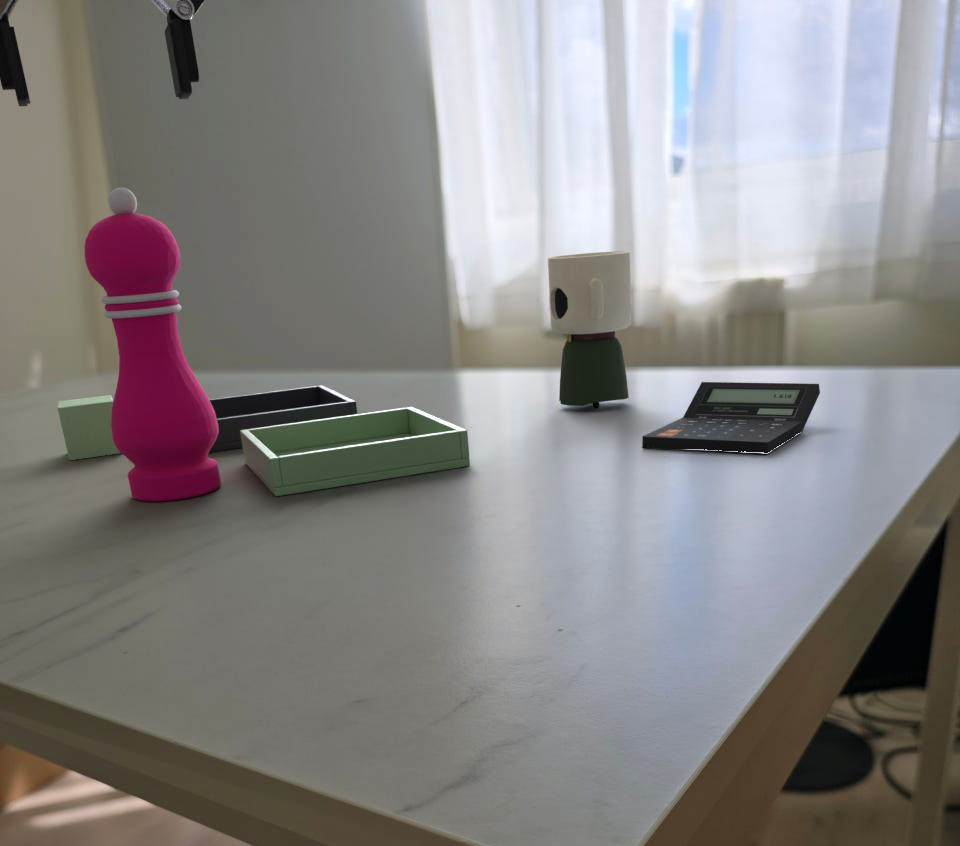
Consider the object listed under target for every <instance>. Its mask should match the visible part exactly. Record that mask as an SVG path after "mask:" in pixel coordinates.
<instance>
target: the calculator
mask: <svg viewBox="0 0 960 846" xmlns="http://www.w3.org/2000/svg"><path fill="white" fill-rule="evenodd" d="M820 389H821V388H820V383H798V382H797V383H793V382H791V383H790V382H789V383H788V382H786V383H785V382H734V381H733V382H728V381H727V382H726V381H725V382H724V381H723V382H722V381H721V382H719V381H718V382H717V381H701V383H700V384H699V386H698V388H697V390H696V392H695V394H694V396H693V398H692V399H691V402H690V403H689V405H688V407H687V409H686V411H685V413H684V414H683V416H682V417H681V418H679V419H677V420H675V421H672V422H670V423H668V424H666V425H664V426H661V427H660V428H658V429H655V430H653V431H651V432H649V433H646V434H644V435H642V437H641V440H642V441H641V442H642V443H641V445H642V449H650V448H657V449H656V450H669V449H704V450H705V449H707V450H718V451H719V450H722V451H738V452H741V451H742V452H744V451H746V452H764V453H768V452H770V451H771V450H773V449H774V448H776V447H777V446H779V445H781V444H782V443H784V442H786V441H787V440H789V439H791V438H792V437H794V436H795V435H796V434H798V433H800V432H801V431H802V432H803V431H804V429H805V427H806V424H807V423H808V421H809V418H810V416H811V414H812V411H813V409H814V407H815V405H816V403H817V400H818V398H819V396H820V394H821V390H820ZM658 448H660V449H658Z"/></svg>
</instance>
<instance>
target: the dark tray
mask: <svg viewBox="0 0 960 846" xmlns="http://www.w3.org/2000/svg"><path fill="white" fill-rule="evenodd" d="M209 400H210V402H211V404H212V406H213V409H214V411H215V414H216V418H217V422H218V426H219V433H218V437H217V439H216V441H215V443H214V444H213V446H212V448H211V449H210V451H209V453H213V452H220V451H229V450H234V449H241V448H242V449H243V446H242V440H241V434H240V430H246V429H247V430H248V429H253V428H261V427H268V426H275V425H282V424H290V423H297V422H304V421H312V420H319V419H326V418H334V417H341V416H348V415H356V414H358V407H357V401H355V400H353V399H352V398H350V397H348V396H346V395H344V394H342V393H339V392H337V391H336V390H333V389H332V388H329V387H327V386H325V385H322V384H321V385H313V386H304V387H296V388H288V389H281V390H274V391H265V392H258V393H250V394H240V395H233V396H226V397H218V398H209Z"/></svg>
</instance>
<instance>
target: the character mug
mask: <svg viewBox="0 0 960 846" xmlns="http://www.w3.org/2000/svg"><path fill="white" fill-rule="evenodd" d="M547 271H548V274H547V275H548V293H549V296H548V299H549V300H548V301H549V315H550V327H551V331H552V332H554V333H556V334H559V335H560V334H561V335H565V342H564V346H563V348H562V353H561V354H562V355H561V362H560V363H561V365H560V373H559V374H560V375H559V397H558V398H559V399H558V402H560V405H564V406H568V407H577V406H578V407H583V406H588V405H591V408H592V409H594V410H598V409H599V408H600V403H603V402H612V401H622V400H627V399H630V397H629V395H630V394H629V388H628V387H629V385H628V377H627V371H626V364H625V359H624V358H625V357H624V351H623V345H622V343H621V341H620V340H619V338H618V337H617V336H616V332H619V331H622V330H626V329H627V328H630V326H631V325H632V290H631V289H632V288H631V287H632V284H631V283H632V282H631V251H628V250H616V251H615V250H614V251H599V252H586V253H585V252H584V253H576V254H567V255H566V254H565V255H557V256H550V257H548V258H547Z"/></svg>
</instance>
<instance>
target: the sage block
mask: <svg viewBox="0 0 960 846" xmlns="http://www.w3.org/2000/svg"><path fill="white" fill-rule="evenodd" d="M113 401H114V399H113V397H112V395H111V394H107V395H99V396H93V397H91V396H90V397H83V398H82V397H81V398H76V399H75V398H74V399H67V400H59V401H57V412H58V416H59V420H60V426H61V430H62V434H63V438H64V442H65V448H66V451H67V457H68V460H69V461H70V460H71V461H77V460H76V459H78V460H83V459H84V458H85V459H90V458H91V459H92V458H99V456H100V457H106V456H105V455H107V456H113V455H112V454H114V455H119V454H121V455H122V453H121V452H120V451H119V450H118V449H117V448H116V446H115V445H114V442H113V437H112V429H111V414H112V406H113Z"/></svg>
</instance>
